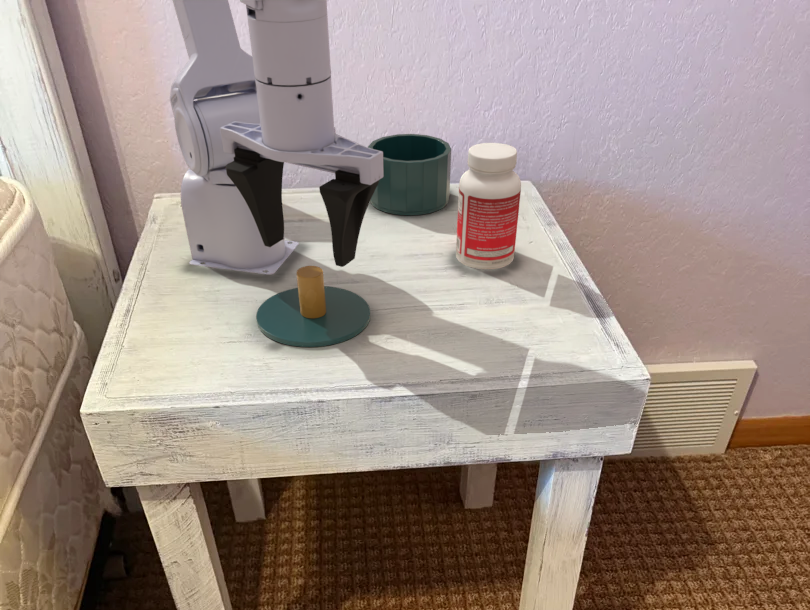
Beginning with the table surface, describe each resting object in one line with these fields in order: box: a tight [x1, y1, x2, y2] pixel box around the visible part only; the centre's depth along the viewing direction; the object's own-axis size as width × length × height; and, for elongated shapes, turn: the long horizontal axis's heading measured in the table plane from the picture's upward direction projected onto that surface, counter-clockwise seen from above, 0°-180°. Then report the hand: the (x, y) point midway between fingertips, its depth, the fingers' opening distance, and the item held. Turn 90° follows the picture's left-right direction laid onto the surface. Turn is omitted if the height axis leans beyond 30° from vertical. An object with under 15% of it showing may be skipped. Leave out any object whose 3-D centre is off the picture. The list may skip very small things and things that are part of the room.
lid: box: [255, 265, 371, 348], centre depth 70 cm, size 11×11×5 cm
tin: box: [367, 133, 452, 216], centre depth 91 cm, size 10×10×6 cm
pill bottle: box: [455, 142, 522, 270], centre depth 77 cm, size 6×6×11 cm
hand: (309, 251), depth 67 cm, fingers open, 7 cm apart
